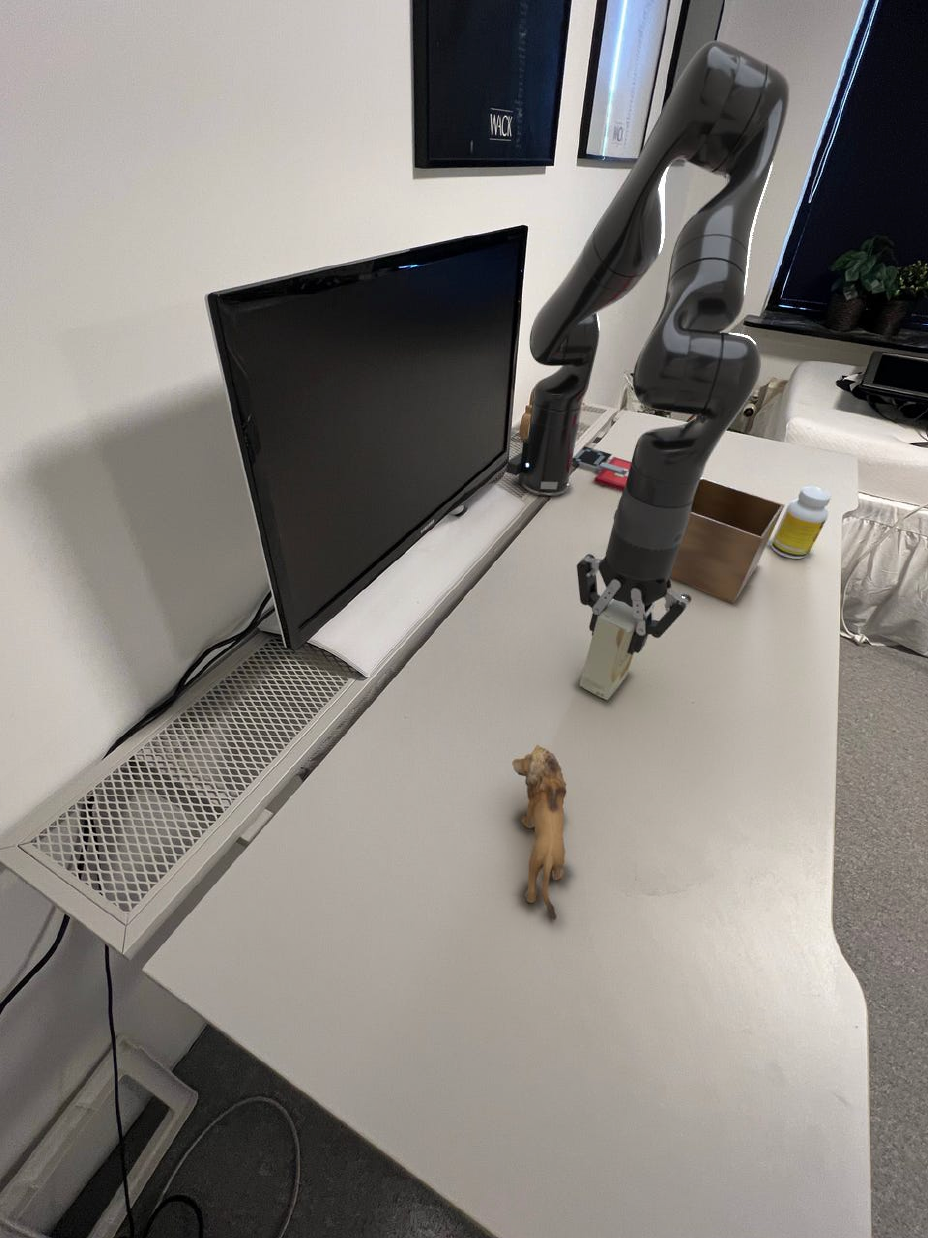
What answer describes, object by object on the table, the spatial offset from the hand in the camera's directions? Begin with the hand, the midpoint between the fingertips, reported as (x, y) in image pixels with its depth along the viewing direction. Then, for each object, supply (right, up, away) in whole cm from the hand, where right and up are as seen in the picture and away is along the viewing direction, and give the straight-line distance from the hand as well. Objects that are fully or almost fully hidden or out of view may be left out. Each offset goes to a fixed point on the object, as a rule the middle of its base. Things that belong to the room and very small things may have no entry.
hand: (614, 641), depth 76 cm
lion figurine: (-12, -21, -13) cm, 28 cm away
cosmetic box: (0, -6, +5) cm, 7 cm away
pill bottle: (+40, +15, +32) cm, 53 cm away
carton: (+22, +11, +26) cm, 36 cm away
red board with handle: (+18, +32, +50) cm, 62 cm away
